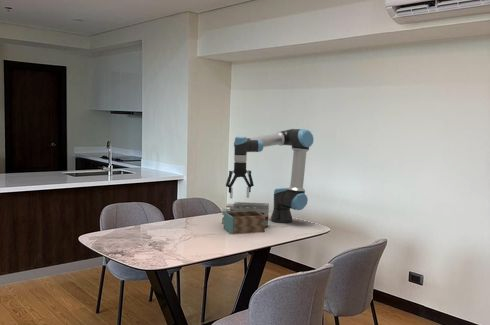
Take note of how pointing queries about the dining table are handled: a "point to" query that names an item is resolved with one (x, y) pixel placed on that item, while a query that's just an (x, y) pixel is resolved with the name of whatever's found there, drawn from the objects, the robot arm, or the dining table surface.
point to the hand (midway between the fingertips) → (239, 197)
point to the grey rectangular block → (248, 209)
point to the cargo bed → (248, 222)
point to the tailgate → (228, 222)
